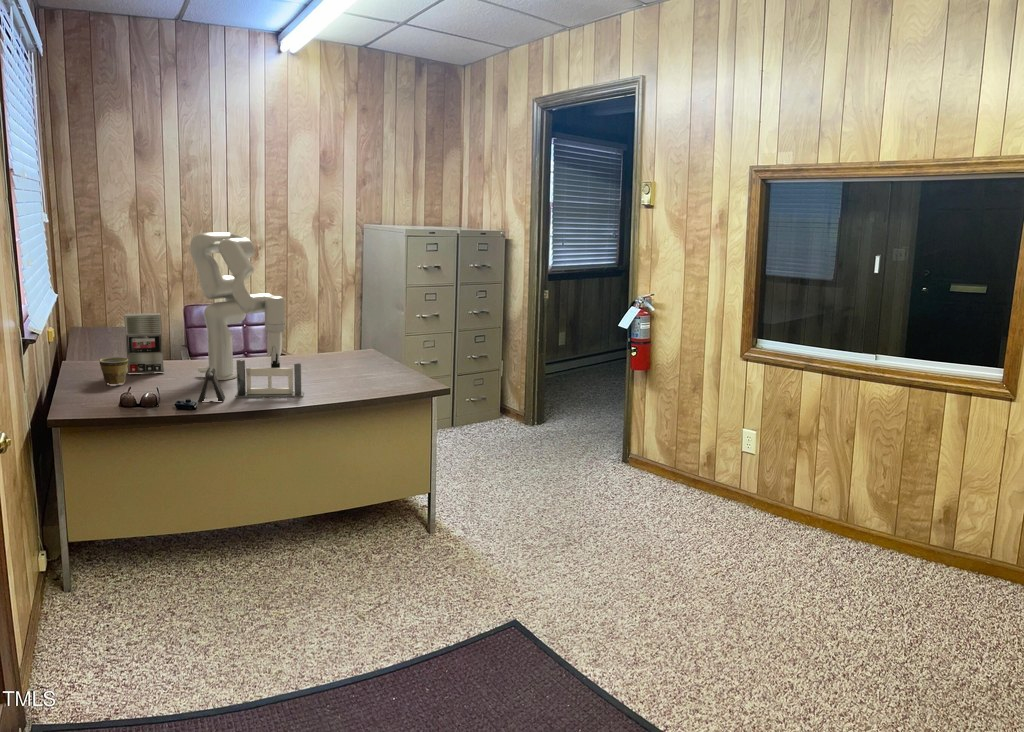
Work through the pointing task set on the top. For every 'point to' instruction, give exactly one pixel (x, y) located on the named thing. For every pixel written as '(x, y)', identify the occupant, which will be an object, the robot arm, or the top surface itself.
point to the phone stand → (215, 383)
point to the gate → (269, 380)
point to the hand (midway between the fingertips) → (275, 372)
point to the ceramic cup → (114, 369)
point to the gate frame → (243, 394)
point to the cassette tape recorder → (144, 343)
